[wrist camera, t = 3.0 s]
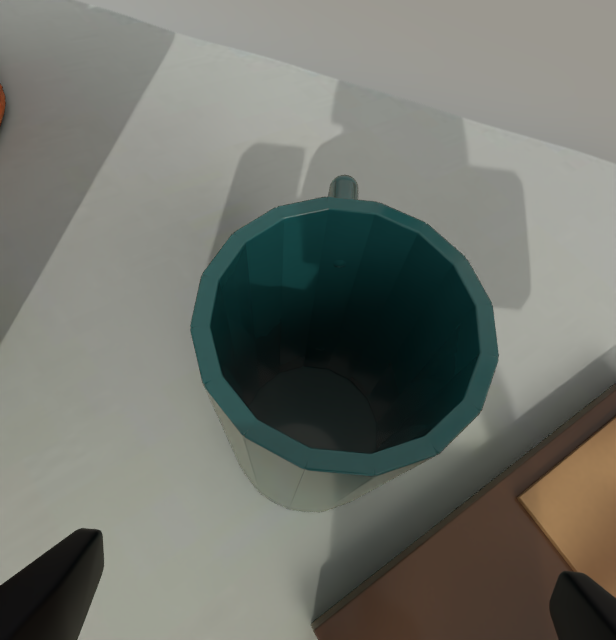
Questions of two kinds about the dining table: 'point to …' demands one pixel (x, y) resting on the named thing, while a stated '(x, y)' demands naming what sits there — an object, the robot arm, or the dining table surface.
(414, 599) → the board
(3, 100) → the beer stein
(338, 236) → the teal coffee mug
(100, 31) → the dining table surface
